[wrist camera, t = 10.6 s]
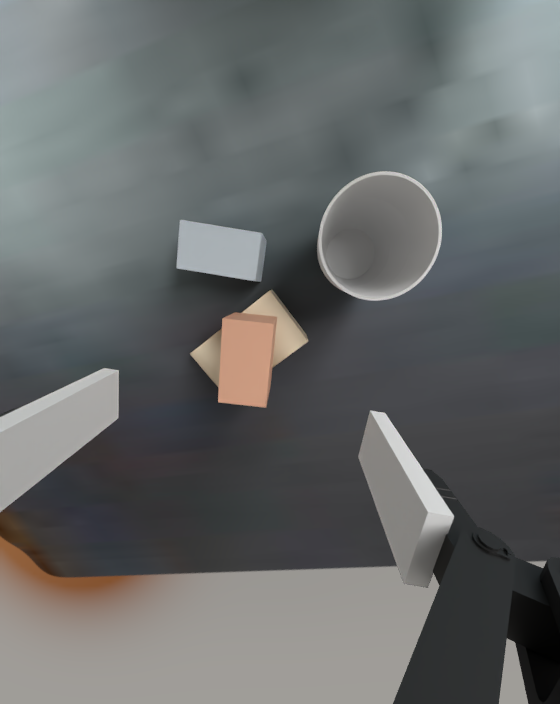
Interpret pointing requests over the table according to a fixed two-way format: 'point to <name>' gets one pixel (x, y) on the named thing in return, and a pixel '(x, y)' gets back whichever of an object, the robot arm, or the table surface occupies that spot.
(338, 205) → the cup
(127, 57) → the table surface
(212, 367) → the maple block
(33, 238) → the table surface
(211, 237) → the slate block
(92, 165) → the table surface
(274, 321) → the terracotta block
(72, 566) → the table surface
